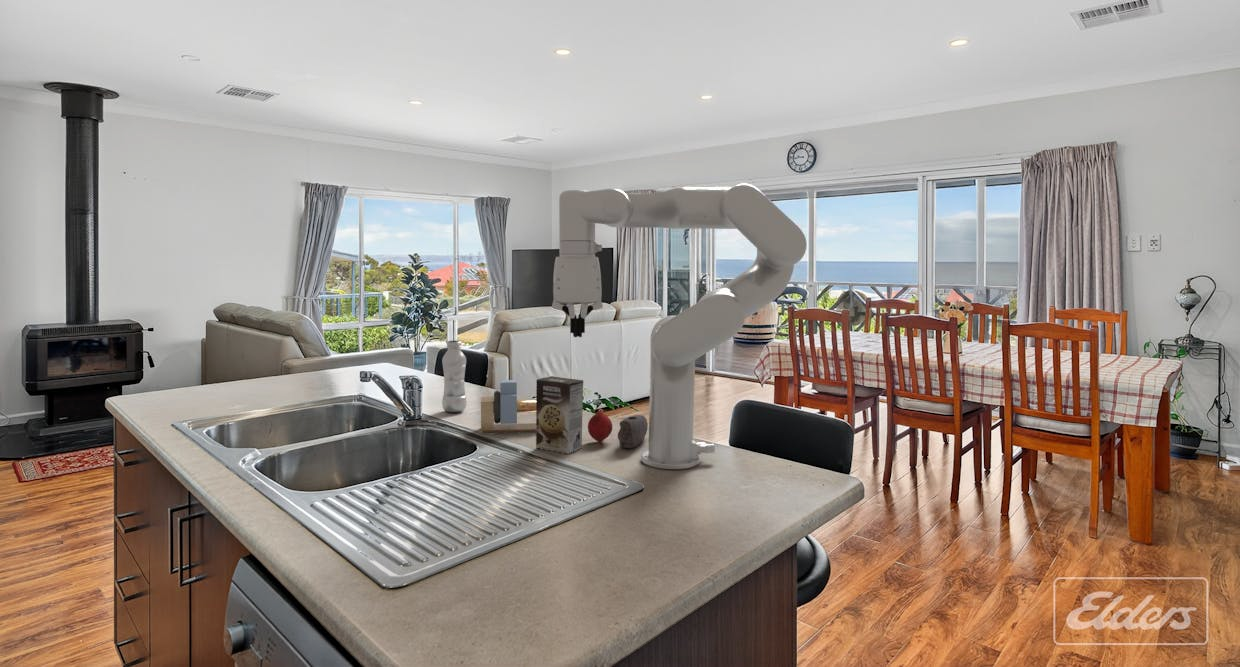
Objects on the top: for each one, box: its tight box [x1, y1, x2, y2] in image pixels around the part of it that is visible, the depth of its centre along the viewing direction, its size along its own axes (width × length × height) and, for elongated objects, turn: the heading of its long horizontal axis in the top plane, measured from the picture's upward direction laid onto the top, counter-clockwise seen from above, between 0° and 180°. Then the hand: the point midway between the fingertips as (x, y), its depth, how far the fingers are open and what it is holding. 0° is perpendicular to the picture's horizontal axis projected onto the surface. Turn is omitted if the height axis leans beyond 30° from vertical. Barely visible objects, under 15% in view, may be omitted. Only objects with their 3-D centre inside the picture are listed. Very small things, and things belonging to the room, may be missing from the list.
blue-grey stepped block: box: [499, 379, 518, 424], centre depth 170 cm, size 4×7×10 cm, turn 10°
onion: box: [587, 408, 613, 443], centre depth 161 cm, size 6×6×8 cm
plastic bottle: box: [441, 340, 467, 414], centre depth 189 cm, size 6×7×20 cm
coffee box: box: [535, 375, 584, 455], centre depth 154 cm, size 9×6×16 cm
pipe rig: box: [480, 396, 536, 434], centre depth 171 cm, size 17×6×8 cm, turn 100°
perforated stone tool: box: [617, 414, 649, 449], centre depth 160 cm, size 15×5×7 cm, turn 159°
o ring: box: [493, 390, 501, 424], centre depth 170 cm, size 2×8×8 cm, turn 10°
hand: (577, 336), depth 145 cm, fingers closed
